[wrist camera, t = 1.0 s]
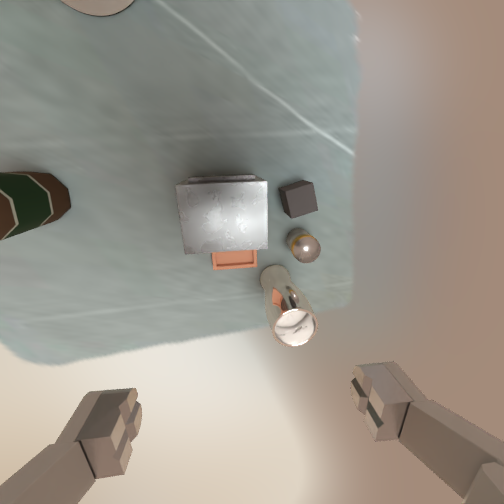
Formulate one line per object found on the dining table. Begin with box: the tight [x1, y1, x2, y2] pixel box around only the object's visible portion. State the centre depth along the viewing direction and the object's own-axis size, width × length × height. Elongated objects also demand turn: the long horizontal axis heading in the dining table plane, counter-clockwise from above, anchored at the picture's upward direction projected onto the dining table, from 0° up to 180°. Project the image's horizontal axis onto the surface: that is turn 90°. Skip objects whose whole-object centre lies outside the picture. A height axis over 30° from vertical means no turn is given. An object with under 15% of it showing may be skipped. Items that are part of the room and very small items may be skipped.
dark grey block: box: [175, 174, 268, 254], centre depth 33 cm, size 9×10×14 cm
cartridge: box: [286, 228, 321, 263], centre depth 41 cm, size 5×5×6 cm
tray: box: [212, 249, 257, 270], centre depth 42 cm, size 8×8×2 cm
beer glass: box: [260, 265, 318, 347], centre depth 39 cm, size 7×7×15 cm
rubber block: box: [279, 180, 318, 218], centre depth 38 cm, size 4×4×5 cm
